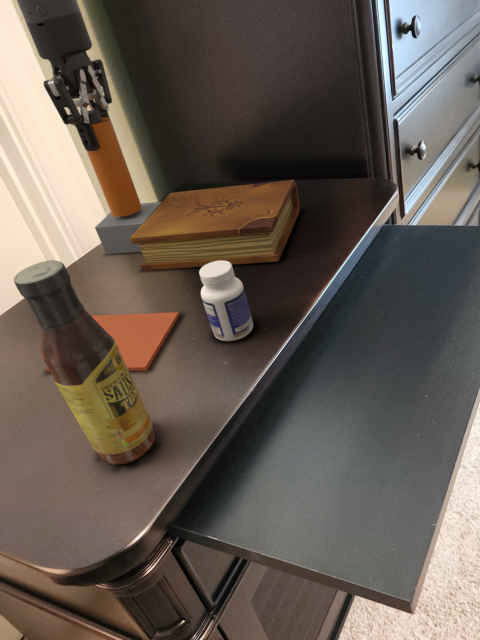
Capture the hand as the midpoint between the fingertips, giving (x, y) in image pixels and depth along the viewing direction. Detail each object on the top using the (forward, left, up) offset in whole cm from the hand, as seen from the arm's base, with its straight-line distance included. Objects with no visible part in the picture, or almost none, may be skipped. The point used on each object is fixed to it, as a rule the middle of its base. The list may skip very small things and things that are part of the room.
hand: (101, 143), depth 83 cm
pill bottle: (+26, -29, -17) cm, 42 cm away
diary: (+17, -2, -17) cm, 24 cm away
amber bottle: (0, 0, -11) cm, 11 cm away
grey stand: (0, 0, -17) cm, 17 cm away
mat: (+10, -31, -17) cm, 37 cm away
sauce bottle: (+20, -49, -17) cm, 55 cm away
